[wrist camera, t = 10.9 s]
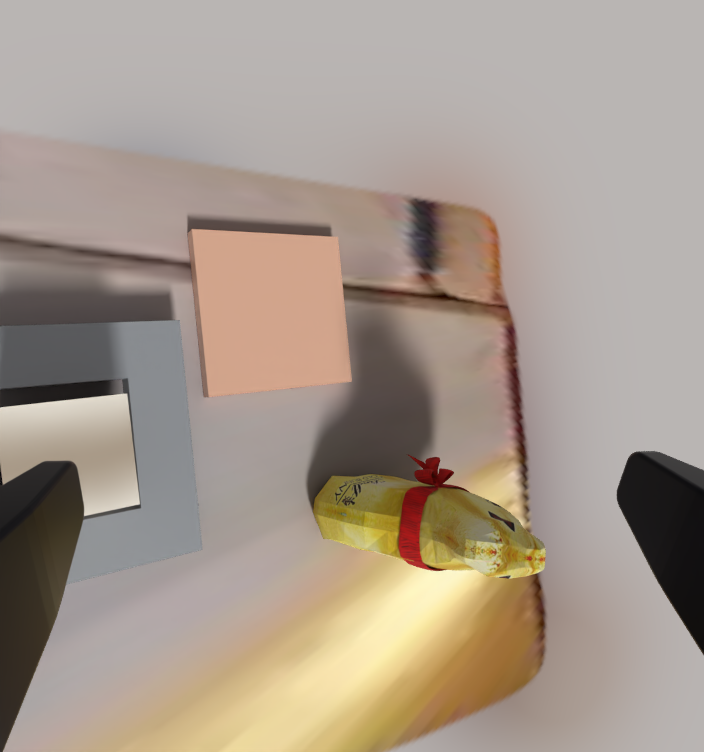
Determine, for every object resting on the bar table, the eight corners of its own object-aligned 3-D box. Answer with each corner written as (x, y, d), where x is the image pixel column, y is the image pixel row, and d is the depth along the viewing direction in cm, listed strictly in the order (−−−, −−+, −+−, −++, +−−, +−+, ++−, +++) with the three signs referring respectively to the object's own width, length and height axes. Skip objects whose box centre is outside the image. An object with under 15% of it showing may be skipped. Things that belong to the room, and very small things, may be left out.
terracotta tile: (344, 381, 38) (351, 381, 37) (203, 397, 33) (208, 397, 32) (330, 240, 38) (337, 237, 37) (187, 233, 33) (192, 229, 32)
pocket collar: (193, 541, 32) (202, 549, 30) (-85, 610, 25) (-93, 625, 24) (171, 324, 32) (179, 320, 30) (-113, 335, 25) (-124, 329, 24)
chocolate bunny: (428, 547, 41) (610, 611, 28) (300, 543, 36) (454, 621, 23) (438, 457, 42) (618, 481, 29) (315, 440, 37) (471, 460, 24)
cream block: (117, 484, 30) (140, 504, 24) (12, 504, 28) (8, 532, 22) (106, 395, 30) (127, 393, 24) (0, 407, 27) (-7, 408, 21)
